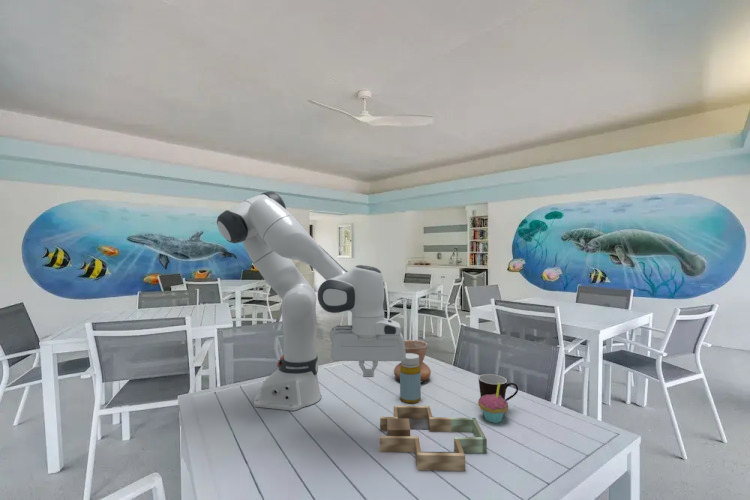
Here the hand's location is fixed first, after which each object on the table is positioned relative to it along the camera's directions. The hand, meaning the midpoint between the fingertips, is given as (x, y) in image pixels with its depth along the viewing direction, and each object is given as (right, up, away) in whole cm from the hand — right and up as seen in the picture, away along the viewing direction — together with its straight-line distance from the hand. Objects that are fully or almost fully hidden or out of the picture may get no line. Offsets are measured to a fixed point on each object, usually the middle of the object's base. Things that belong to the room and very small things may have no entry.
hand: (368, 376), depth 92 cm
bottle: (+14, -17, +25) cm, 33 cm away
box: (+16, -17, -1) cm, 23 cm away
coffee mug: (+41, -17, +16) cm, 47 cm away
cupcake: (+37, -17, +11) cm, 43 cm away
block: (+8, -17, 0) cm, 19 cm away
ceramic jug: (+16, -17, +42) cm, 49 cm away
